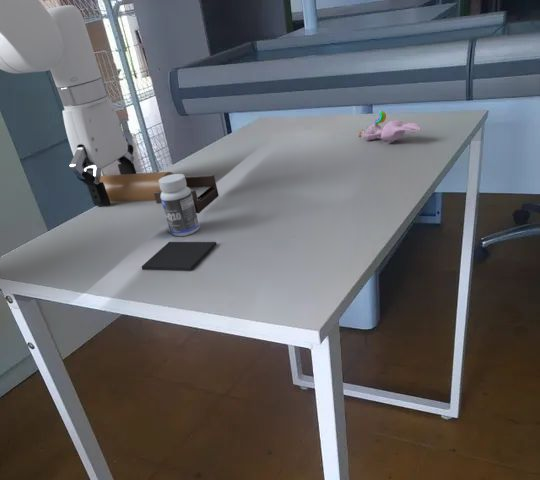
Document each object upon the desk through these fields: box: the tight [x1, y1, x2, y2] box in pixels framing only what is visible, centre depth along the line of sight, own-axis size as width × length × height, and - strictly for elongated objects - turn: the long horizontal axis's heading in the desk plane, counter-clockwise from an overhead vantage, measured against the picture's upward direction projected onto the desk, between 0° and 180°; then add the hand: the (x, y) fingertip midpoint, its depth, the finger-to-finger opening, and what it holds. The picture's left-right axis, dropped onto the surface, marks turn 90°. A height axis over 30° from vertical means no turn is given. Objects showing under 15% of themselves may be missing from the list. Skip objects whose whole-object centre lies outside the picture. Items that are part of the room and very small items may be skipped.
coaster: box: [141, 241, 217, 272], centre depth 78 cm, size 8×8×1 cm
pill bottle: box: [159, 173, 200, 237], centre depth 84 cm, size 5×5×8 cm
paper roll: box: [100, 171, 174, 203], centre depth 98 cm, size 14×6×6 cm, turn 69°
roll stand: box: [154, 174, 219, 214], centre depth 95 cm, size 8×8×4 cm
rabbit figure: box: [357, 110, 422, 144], centre depth 105 cm, size 6×6×15 cm
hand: (118, 194), depth 101 cm, fingers open, 9 cm apart
